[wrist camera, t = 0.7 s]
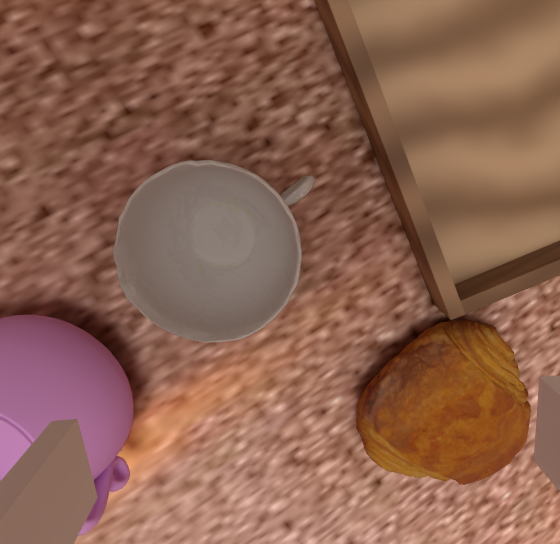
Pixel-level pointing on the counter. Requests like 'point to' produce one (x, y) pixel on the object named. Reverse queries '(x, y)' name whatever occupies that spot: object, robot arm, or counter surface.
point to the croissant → (447, 406)
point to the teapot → (63, 397)
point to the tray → (462, 134)
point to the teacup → (209, 249)
